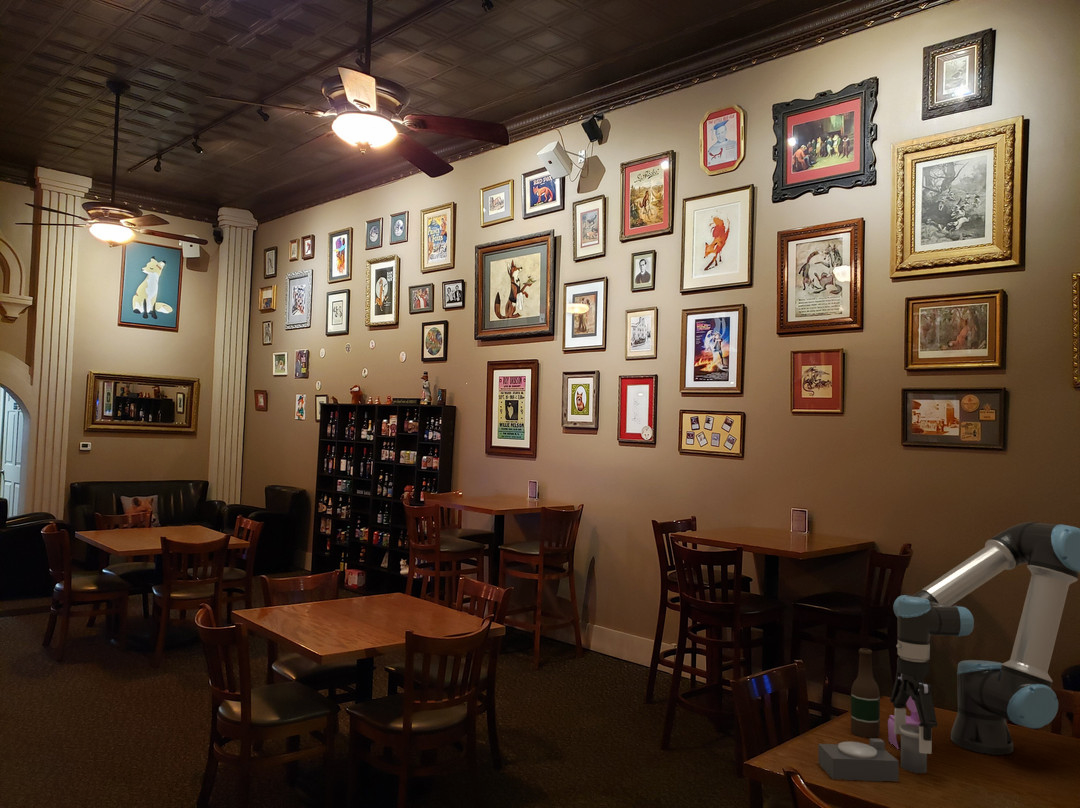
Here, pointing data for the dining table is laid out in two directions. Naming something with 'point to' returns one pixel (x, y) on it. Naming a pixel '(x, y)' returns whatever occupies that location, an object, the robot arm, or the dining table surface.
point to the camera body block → (858, 761)
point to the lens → (912, 750)
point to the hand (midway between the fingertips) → (912, 743)
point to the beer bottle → (865, 699)
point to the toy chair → (909, 721)
